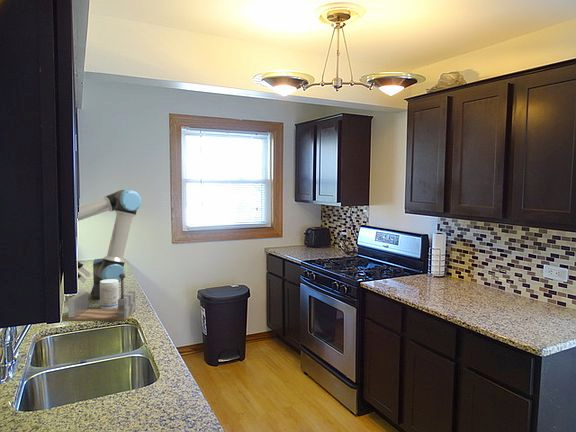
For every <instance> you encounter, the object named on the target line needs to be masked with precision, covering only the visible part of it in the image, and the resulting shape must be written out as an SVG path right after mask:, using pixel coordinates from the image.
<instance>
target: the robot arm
mask: <svg viewBox="0 0 576 432" xmlns="http://www.w3.org/2000/svg"><path fill="white" fill-rule="evenodd" d="M141 205H142V198H141V195H140V194H139V193H138V192H137V191H135V190H132V189H120V190H118V191H115V192H113V193H110V194H108V195H105V196H104V197H103V198H102V199H99V200H95V201H93V202H89V203H85V204H83V205H80V206H78V207H79V212H78V221H77V222H79V221H83V220H85V219H88V218H91V217H93V216H94V217H95V216H97V215H100V214H103V213H106V212H108V211H109V212H115V214H116V215H115V219H114V220H115V221H114V224H113V229H112V232H111V237H110V242H109V245H108V249H107V253H106V256H104V257H102V258H101V257H100V258H94V259H93V262H92V270H93V271H92V272H90V271H89V270H88V269H87V268H86V267H84V264H83V263H81V262H79V261H78V269H77V271H78V278H77V280H79V281H80V282H81V283H82V284H84V283H86V282H87V280H88V278H89V277H91V275H93V276H92V277H93V281H92V283H93V286H92V288H91V291H90V299H92V300H99V301H100V281H102V280H106V279H117V280H118V281H119V283H121V279H120V278H119V275H120V274H122V273H123V274H125V275H126V271H125V262H126V260H125V259H124V255H125V250H126V246H127V243H128V237H129V232H130V229H131V224H132V220H133V218H134V217H135V216H137V211H138V209H140V207H141ZM92 273H93V274H92Z"/></svg>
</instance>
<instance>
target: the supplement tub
mask: <svg viewBox="0 0 576 432" xmlns="http://www.w3.org/2000/svg"><path fill="white" fill-rule="evenodd" d="M119 283H120V282H119V281H118V280H117V279H106V280H102V281H100V300H99V307H100V308H99V309H118V299H119V298H120V284H119Z"/></svg>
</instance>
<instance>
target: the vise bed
mask: <svg viewBox="0 0 576 432" xmlns="http://www.w3.org/2000/svg"><path fill="white" fill-rule="evenodd" d="M119 278H120V279H121V281H120V297H119V299H118V307H117V308H115V309H101V308H88V309H87V310H86V311H84V312H82V313H81V314H79V315H78V316H76V317H70V318H68V316H67V317H66V318H65V322H89V321H90V322H98V321H99V322H100V321H101V322H107V321H108V322H115V321H116V322H124V321H126V320H127V319H128V318H129V317H130V316H131V314H132V315H133V314H134V313H135V312H136V291H128V292H126V293H125V292H124V287H125V286H124V285H125V284H124V283H125V282H124V281H125V280H124V279H126V273H125V274H123V273H122V274H120V275H119ZM124 293H125V294H124Z"/></svg>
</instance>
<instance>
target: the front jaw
mask: <svg viewBox="0 0 576 432" xmlns="http://www.w3.org/2000/svg"><path fill="white" fill-rule="evenodd" d="M87 309H89V291H80V292H79V293H78V294H75V295H73V296H72V297H70V298H67V313H68V314H67V317H68V318H70V317H76V316H78V315H79V314H81V313H82V312H84V311H86V310H87Z"/></svg>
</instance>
